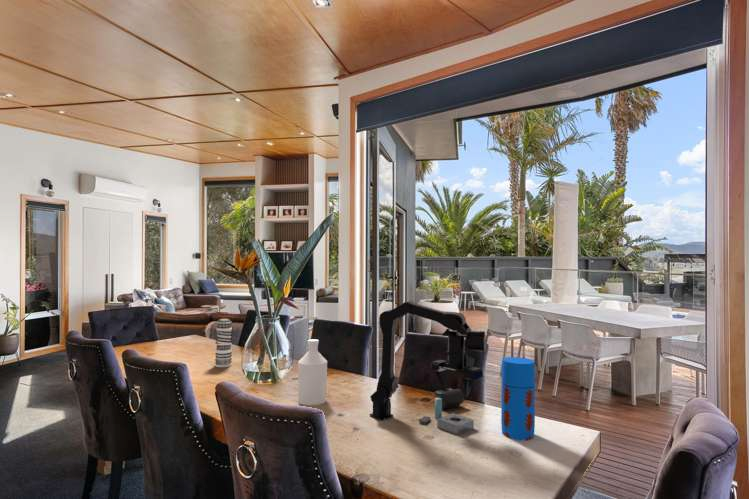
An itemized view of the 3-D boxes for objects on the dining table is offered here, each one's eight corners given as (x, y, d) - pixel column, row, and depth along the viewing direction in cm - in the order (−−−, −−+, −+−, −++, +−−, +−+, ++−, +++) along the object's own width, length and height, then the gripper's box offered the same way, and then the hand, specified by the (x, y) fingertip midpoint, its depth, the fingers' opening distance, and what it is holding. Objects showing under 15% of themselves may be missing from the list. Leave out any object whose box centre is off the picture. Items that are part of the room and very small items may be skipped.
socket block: (458, 435, 152) (458, 426, 153) (437, 427, 159) (437, 418, 159) (473, 428, 159) (473, 419, 159) (452, 421, 165) (452, 413, 165)
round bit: (438, 419, 167) (438, 400, 167) (433, 417, 169) (433, 398, 169) (443, 417, 169) (443, 399, 169) (437, 416, 171) (437, 397, 171)
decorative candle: (211, 366, 243) (212, 320, 243) (219, 362, 252) (220, 317, 252) (227, 367, 241) (227, 320, 242) (235, 363, 250) (236, 318, 251)
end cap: (446, 412, 176) (446, 394, 176) (433, 407, 181) (433, 390, 182) (464, 407, 181) (464, 390, 182) (451, 402, 187) (451, 386, 187)
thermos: (517, 442, 147) (518, 365, 147) (494, 431, 156) (495, 358, 157) (541, 437, 152) (542, 362, 152) (517, 426, 161) (518, 355, 162)
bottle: (307, 407, 179) (308, 344, 179) (292, 400, 188) (293, 339, 188) (332, 401, 186) (333, 340, 187) (316, 394, 195) (317, 336, 196)
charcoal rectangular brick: (425, 425, 162) (425, 421, 162) (419, 424, 163) (419, 420, 163) (430, 421, 166) (430, 417, 166) (424, 420, 167) (424, 416, 167)
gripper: (491, 350, 158) (491, 395, 158) (449, 342, 172) (448, 383, 171) (473, 354, 150) (472, 401, 150) (430, 346, 164) (429, 389, 164)
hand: (455, 393), depth 159 cm, fingers open, 9 cm apart
